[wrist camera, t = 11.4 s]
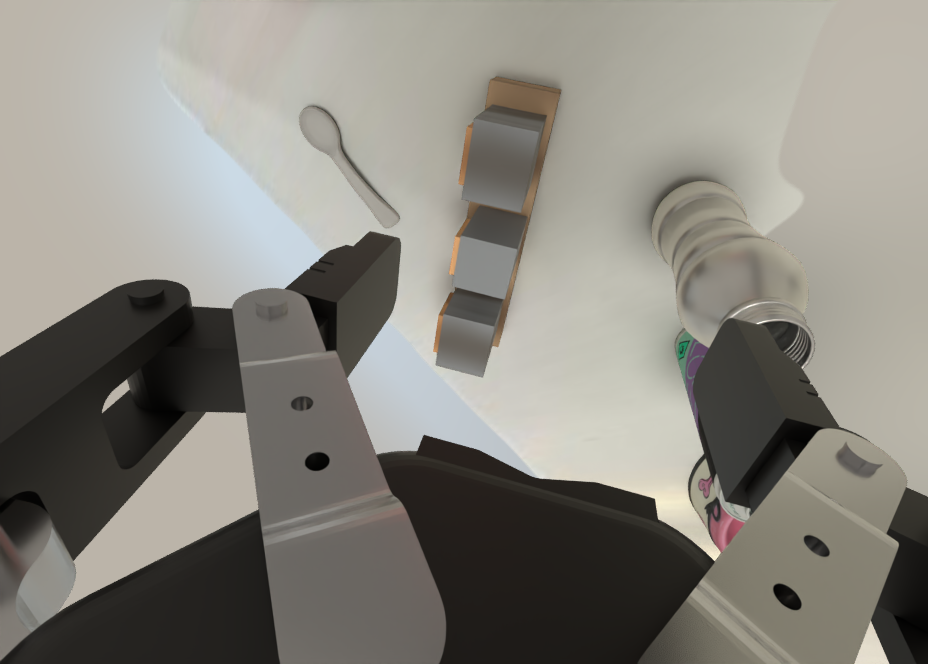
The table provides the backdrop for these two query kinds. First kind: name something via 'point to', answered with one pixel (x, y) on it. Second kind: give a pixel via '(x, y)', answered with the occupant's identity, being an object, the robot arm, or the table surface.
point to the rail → (495, 207)
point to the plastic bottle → (730, 269)
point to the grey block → (487, 251)
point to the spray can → (689, 361)
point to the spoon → (342, 160)
